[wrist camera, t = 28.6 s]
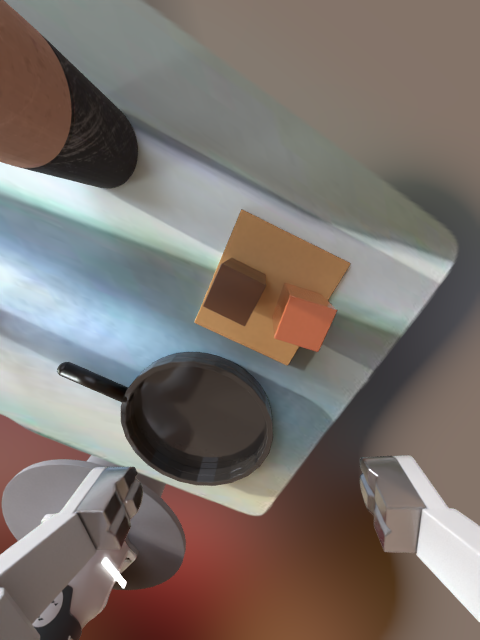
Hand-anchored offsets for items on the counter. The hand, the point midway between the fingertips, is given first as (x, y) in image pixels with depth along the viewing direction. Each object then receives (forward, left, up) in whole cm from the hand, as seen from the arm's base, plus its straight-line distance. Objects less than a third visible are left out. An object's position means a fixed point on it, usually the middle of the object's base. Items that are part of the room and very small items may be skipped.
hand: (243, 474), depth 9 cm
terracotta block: (+3, -3, -19) cm, 19 cm away
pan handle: (-17, +14, -19) cm, 29 cm away
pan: (-17, 0, -19) cm, 25 cm away
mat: (+2, 0, -19) cm, 19 cm away
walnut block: (+2, +3, -19) cm, 19 cm away
